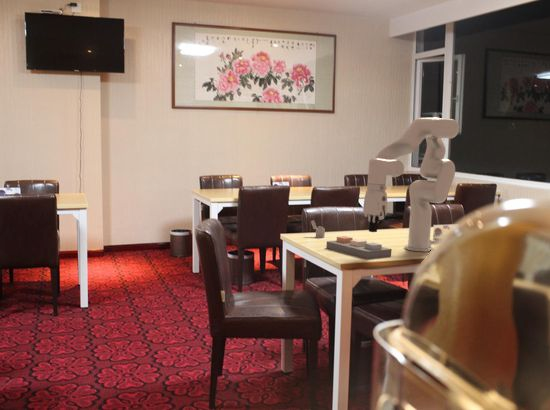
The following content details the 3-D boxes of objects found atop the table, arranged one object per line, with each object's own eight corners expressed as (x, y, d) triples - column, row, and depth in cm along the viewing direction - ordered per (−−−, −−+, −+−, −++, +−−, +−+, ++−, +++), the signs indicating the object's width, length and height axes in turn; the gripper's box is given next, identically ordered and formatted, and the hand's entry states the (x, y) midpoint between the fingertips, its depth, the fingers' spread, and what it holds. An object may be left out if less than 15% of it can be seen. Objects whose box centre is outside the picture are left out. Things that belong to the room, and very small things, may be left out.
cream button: (358, 246, 261) (358, 239, 261) (366, 247, 257) (366, 241, 257) (350, 246, 258) (350, 240, 258) (357, 248, 254) (358, 241, 254)
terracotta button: (344, 242, 269) (345, 236, 268) (352, 244, 265) (352, 237, 264) (336, 243, 266) (336, 236, 265) (343, 245, 262) (344, 238, 261)
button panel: (349, 245, 273) (350, 239, 272) (391, 256, 252) (391, 249, 251) (326, 247, 265) (326, 241, 264) (367, 258, 244) (367, 251, 243)
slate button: (372, 249, 254) (373, 242, 254) (381, 251, 250) (381, 244, 250) (364, 250, 251) (364, 243, 251) (372, 252, 247) (373, 245, 247)
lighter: (324, 237, 294) (325, 221, 293) (323, 237, 293) (324, 221, 292) (311, 235, 297) (312, 219, 296) (309, 236, 296) (310, 220, 295)
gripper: (395, 190, 244) (392, 234, 245) (370, 186, 256) (366, 229, 257) (382, 189, 239) (379, 234, 241) (357, 186, 251) (354, 229, 253)
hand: (372, 231), depth 249 cm, fingers closed
